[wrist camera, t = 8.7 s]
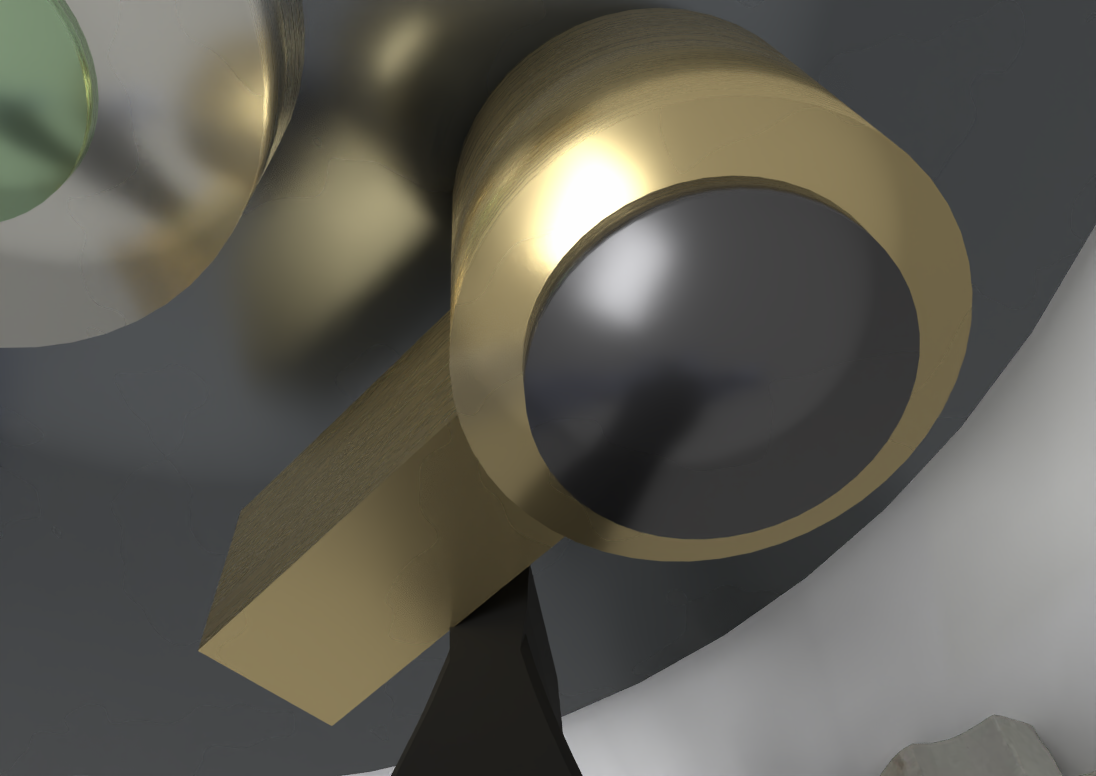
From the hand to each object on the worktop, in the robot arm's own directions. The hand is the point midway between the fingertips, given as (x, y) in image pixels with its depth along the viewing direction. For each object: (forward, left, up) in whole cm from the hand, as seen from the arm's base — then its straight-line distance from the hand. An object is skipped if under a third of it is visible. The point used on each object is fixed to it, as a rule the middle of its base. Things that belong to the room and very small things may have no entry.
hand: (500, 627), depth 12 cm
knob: (+3, -1, -2) cm, 4 cm away
